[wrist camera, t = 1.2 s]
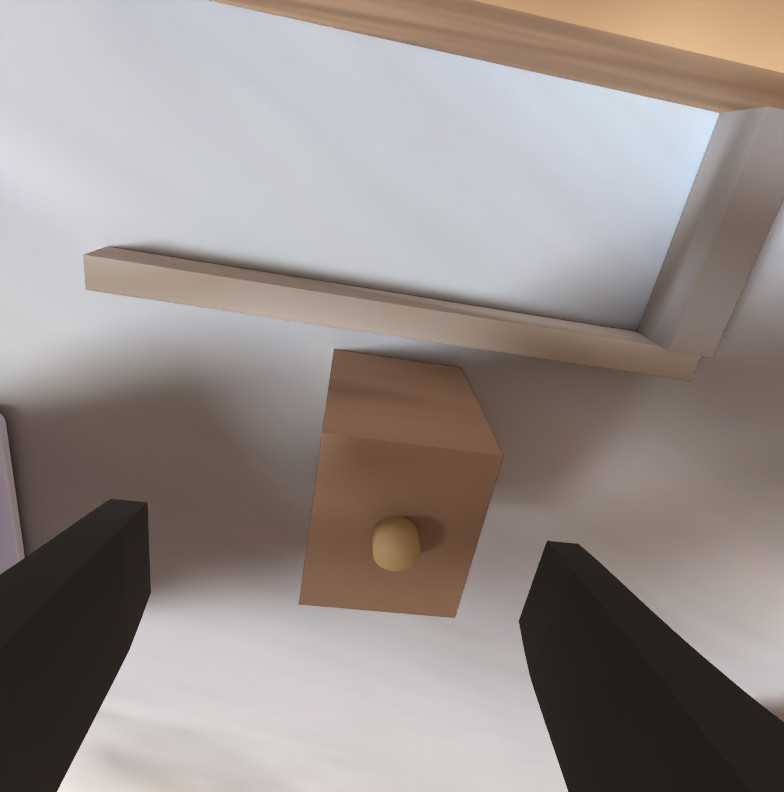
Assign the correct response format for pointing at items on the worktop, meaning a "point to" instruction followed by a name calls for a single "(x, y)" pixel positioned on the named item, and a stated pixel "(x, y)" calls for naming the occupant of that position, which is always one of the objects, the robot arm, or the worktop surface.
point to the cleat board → (580, 61)
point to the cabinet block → (398, 487)
